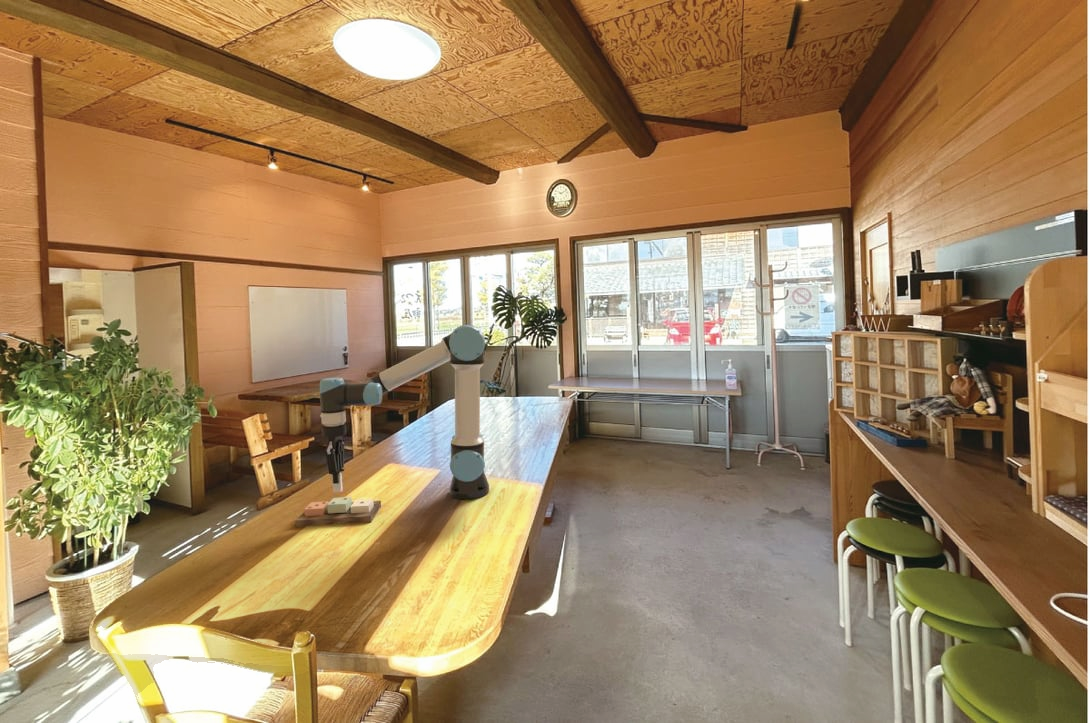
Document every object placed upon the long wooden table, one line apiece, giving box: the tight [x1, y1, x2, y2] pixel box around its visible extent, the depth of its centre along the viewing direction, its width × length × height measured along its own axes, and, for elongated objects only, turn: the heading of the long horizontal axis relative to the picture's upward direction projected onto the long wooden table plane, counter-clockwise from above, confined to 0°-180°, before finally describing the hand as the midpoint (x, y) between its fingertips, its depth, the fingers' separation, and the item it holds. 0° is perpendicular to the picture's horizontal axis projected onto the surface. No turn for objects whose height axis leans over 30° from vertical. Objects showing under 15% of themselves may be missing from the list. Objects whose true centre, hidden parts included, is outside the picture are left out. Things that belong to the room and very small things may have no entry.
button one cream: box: [350, 498, 375, 513], centre depth 161 cm, size 6×6×3 cm
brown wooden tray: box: [295, 500, 382, 528], centre depth 161 cm, size 24×13×2 cm, turn 95°
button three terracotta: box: [303, 501, 330, 516], centre depth 160 cm, size 6×6×3 cm
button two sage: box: [327, 496, 353, 513], centre depth 160 cm, size 6×6×3 cm
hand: (337, 491), depth 160 cm, fingers closed
